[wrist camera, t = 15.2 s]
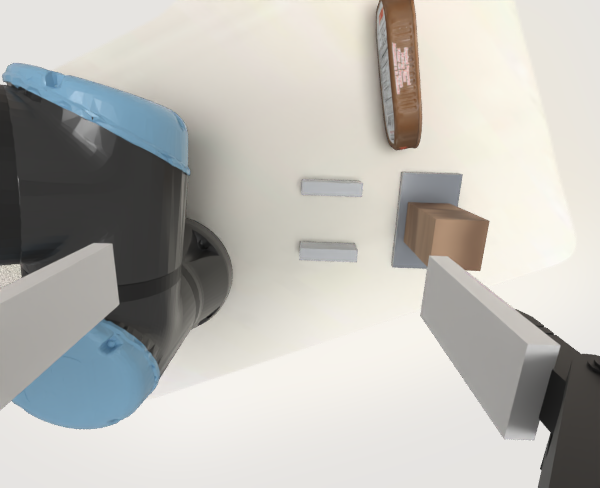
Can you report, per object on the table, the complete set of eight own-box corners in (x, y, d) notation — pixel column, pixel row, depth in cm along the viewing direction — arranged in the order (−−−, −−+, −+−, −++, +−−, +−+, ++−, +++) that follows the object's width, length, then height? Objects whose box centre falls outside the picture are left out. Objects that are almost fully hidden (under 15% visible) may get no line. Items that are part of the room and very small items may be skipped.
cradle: (300, 252, 46) (299, 259, 43) (302, 179, 43) (301, 181, 40) (353, 254, 46) (356, 262, 43) (359, 181, 43) (363, 183, 40)
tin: (408, 147, 42) (431, 148, 34) (381, 151, 42) (398, 153, 34) (397, 4, 38) (420, -34, 30) (367, 10, 38) (382, -26, 30)
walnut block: (403, 241, 44) (428, 268, 35) (408, 202, 43) (435, 219, 33) (443, 243, 44) (480, 270, 34) (449, 203, 43) (489, 221, 33)
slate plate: (391, 265, 46) (392, 267, 45) (401, 171, 43) (403, 172, 42) (445, 267, 46) (447, 269, 45) (459, 173, 42) (462, 174, 42)
